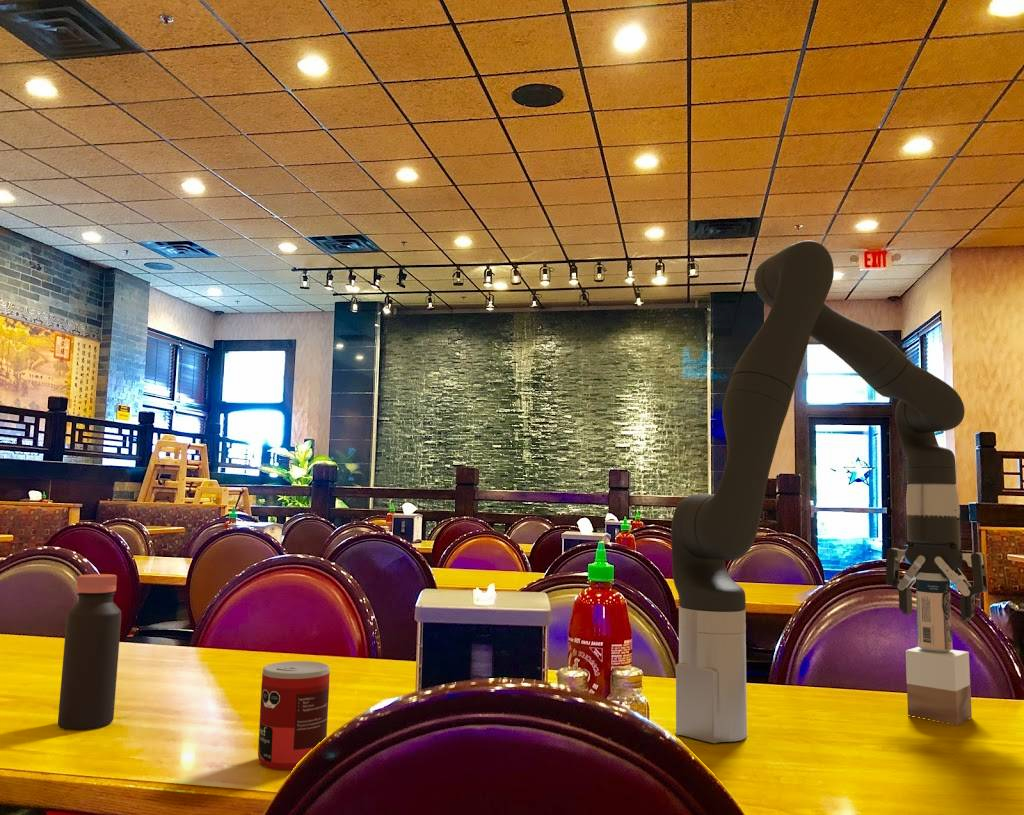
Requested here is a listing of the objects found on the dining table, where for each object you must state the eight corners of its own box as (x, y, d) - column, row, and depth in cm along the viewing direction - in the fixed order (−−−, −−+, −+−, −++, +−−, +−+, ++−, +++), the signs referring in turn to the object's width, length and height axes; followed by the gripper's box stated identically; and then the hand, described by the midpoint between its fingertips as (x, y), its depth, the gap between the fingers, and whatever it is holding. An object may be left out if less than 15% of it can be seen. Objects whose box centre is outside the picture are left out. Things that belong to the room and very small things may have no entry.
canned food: (264, 751, 102) (269, 660, 103) (329, 751, 103) (333, 660, 104) (250, 771, 94) (255, 673, 96) (320, 771, 95) (325, 673, 96)
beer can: (957, 654, 125) (953, 574, 127) (923, 652, 126) (920, 573, 128) (946, 649, 130) (943, 572, 132) (914, 647, 131) (911, 571, 132)
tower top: (955, 691, 123) (954, 657, 123) (906, 683, 127) (905, 650, 128) (970, 684, 127) (968, 651, 128) (922, 677, 132) (921, 645, 133)
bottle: (56, 733, 107) (69, 578, 110) (58, 720, 113) (70, 574, 116) (114, 728, 111) (125, 577, 113) (112, 716, 117) (123, 573, 119)
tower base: (957, 726, 122) (956, 691, 123) (908, 716, 127) (906, 683, 127) (971, 718, 127) (970, 684, 127) (923, 709, 132) (922, 677, 132)
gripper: (877, 512, 133) (880, 614, 131) (974, 514, 123) (979, 625, 121) (895, 512, 138) (898, 610, 136) (989, 514, 128) (994, 621, 126)
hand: (936, 617), depth 129 cm, fingers open, 8 cm apart
